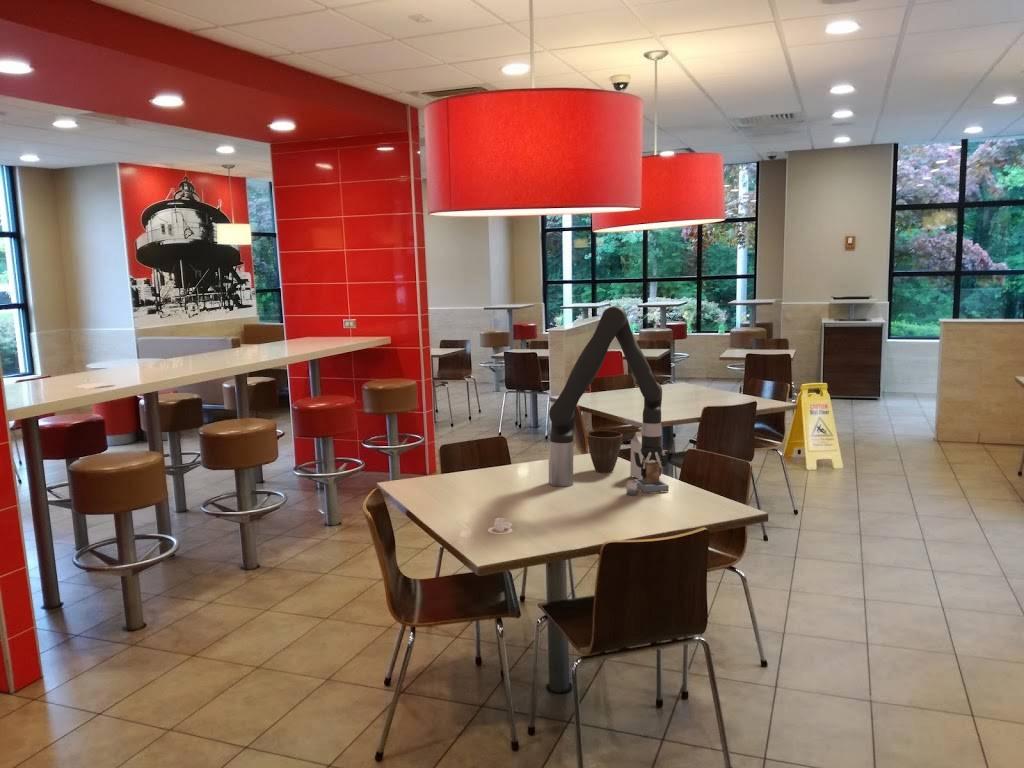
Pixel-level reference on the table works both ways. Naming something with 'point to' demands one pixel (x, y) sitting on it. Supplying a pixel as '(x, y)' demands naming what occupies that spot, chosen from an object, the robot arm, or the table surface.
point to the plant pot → (604, 449)
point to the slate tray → (651, 486)
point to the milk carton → (635, 446)
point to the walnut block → (652, 472)
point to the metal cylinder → (631, 488)
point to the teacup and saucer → (501, 526)
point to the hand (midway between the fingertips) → (651, 477)
